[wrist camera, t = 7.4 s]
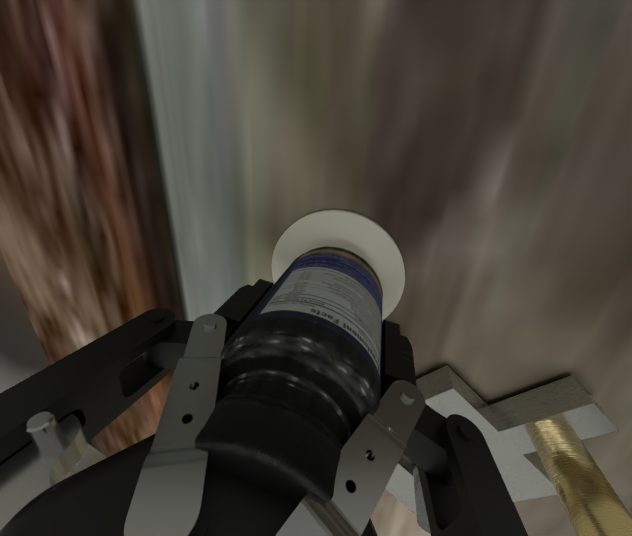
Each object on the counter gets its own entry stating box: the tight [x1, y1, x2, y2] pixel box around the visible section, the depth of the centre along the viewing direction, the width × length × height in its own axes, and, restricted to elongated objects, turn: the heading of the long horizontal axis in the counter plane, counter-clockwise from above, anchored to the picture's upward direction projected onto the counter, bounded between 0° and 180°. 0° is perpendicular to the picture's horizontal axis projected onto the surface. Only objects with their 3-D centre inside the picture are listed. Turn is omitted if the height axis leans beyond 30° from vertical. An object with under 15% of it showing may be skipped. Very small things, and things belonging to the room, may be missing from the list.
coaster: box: [272, 209, 405, 321], centre depth 17 cm, size 9×9×1 cm
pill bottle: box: [195, 246, 383, 503], centre depth 11 cm, size 6×6×11 cm
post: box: [412, 461, 431, 534], centre depth 20 cm, size 3×3×6 cm
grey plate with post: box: [385, 365, 632, 536], centre depth 17 cm, size 18×12×9 cm
